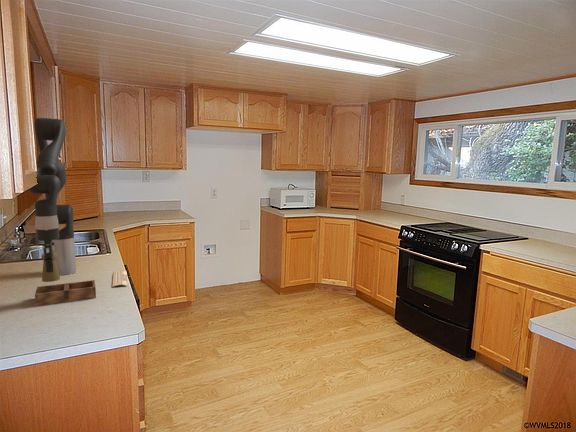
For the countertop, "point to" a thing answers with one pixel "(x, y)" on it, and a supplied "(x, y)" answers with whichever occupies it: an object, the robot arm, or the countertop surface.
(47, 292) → the walnut caddy
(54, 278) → the cork
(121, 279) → the newspaper
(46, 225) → the robot arm
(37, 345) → the countertop surface
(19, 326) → the countertop surface
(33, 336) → the countertop surface
